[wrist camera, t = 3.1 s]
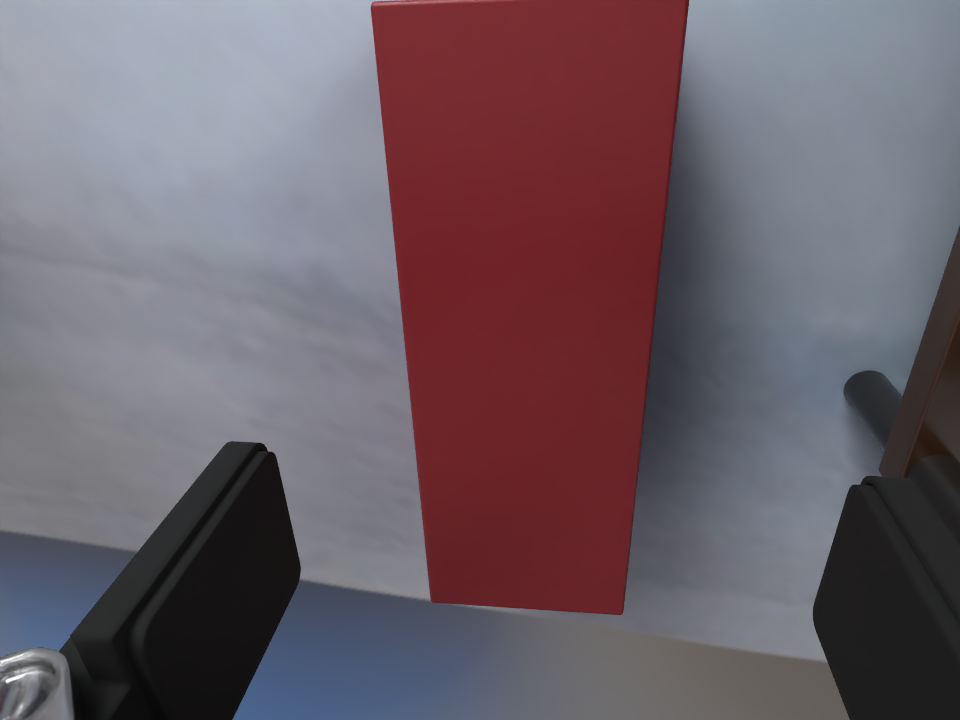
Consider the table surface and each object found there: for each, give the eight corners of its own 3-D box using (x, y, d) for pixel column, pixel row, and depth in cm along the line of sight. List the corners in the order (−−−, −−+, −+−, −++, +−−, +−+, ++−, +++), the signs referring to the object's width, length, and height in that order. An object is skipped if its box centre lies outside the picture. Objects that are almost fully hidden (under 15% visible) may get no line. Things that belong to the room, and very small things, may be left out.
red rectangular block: (454, 492, 23) (430, 603, 18) (420, 1, 15) (368, 1, 11) (611, 499, 22) (623, 616, 18) (654, -8, 15) (691, -11, 11)
